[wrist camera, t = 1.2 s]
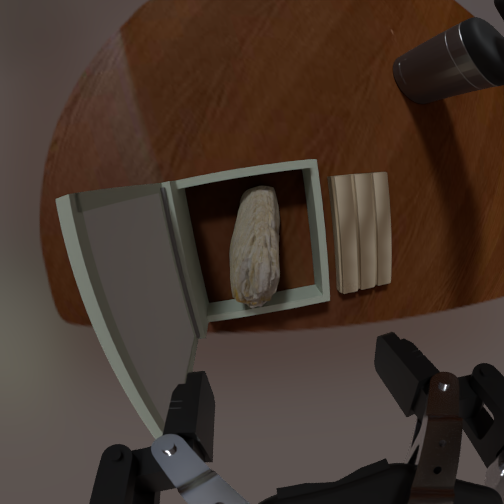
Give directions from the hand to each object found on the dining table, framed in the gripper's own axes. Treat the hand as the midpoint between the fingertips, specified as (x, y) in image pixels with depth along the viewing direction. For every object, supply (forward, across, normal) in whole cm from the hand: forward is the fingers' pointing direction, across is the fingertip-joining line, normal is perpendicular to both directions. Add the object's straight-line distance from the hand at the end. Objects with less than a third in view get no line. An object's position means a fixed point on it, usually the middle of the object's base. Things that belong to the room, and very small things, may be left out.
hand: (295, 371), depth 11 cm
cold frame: (+27, 0, 0) cm, 27 cm away
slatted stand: (+27, -16, +2) cm, 32 cm away
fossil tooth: (+28, 0, 0) cm, 28 cm away
